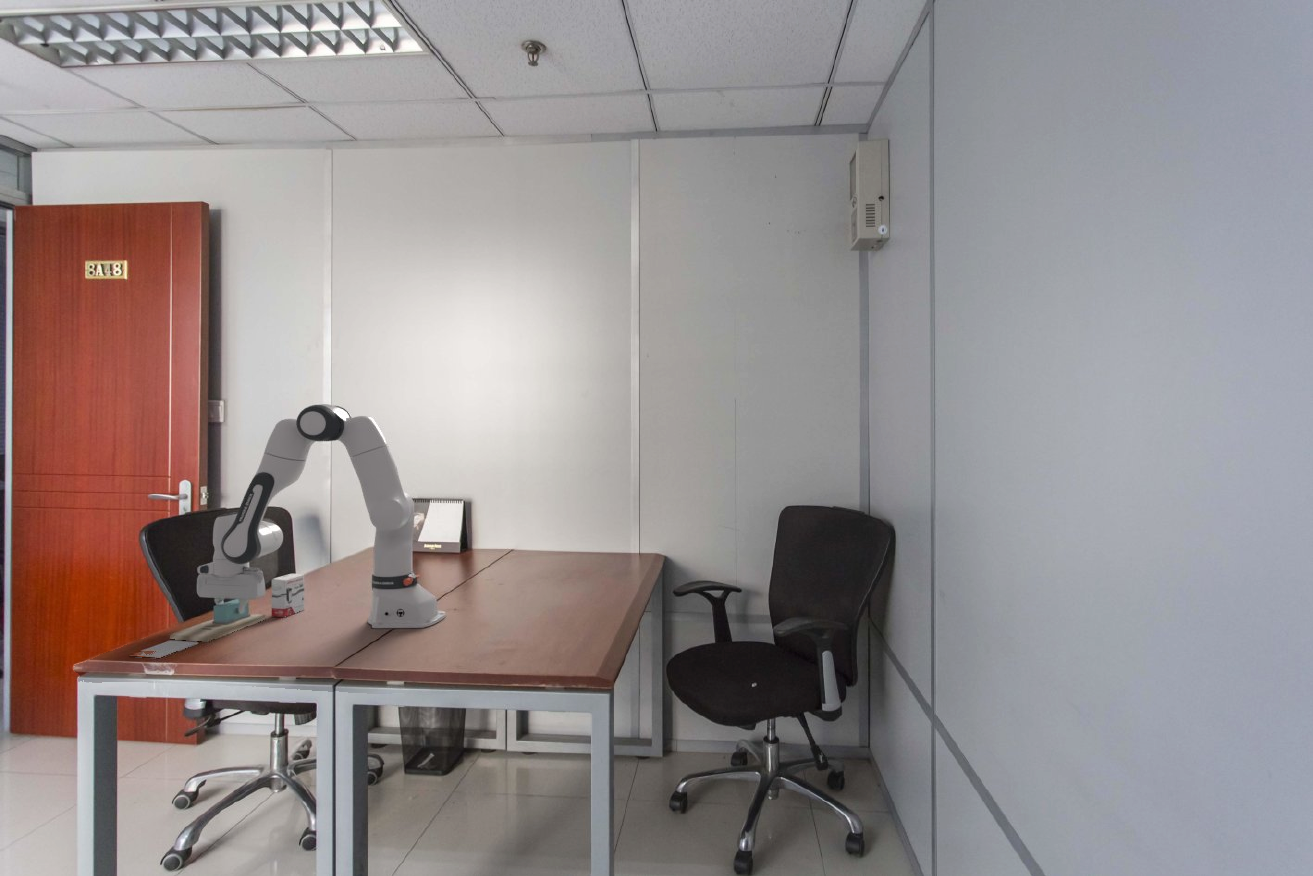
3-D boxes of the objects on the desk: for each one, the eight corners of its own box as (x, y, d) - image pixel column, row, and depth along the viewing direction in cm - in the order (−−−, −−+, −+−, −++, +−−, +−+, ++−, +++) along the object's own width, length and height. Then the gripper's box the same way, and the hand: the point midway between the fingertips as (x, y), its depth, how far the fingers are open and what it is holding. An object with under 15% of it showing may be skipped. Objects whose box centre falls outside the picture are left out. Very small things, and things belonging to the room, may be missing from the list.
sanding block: (250, 616, 184) (249, 599, 184) (226, 624, 176) (226, 607, 176) (236, 615, 185) (236, 598, 185) (212, 623, 177) (212, 606, 177)
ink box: (284, 618, 188) (284, 580, 188) (270, 617, 189) (270, 579, 189) (305, 610, 196) (305, 573, 196) (292, 609, 197) (292, 573, 197)
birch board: (265, 619, 186) (265, 614, 186) (207, 642, 166) (207, 636, 166) (230, 617, 188) (230, 612, 188) (169, 639, 168) (169, 634, 168)
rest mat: (198, 643, 165) (198, 642, 165) (159, 658, 154) (159, 657, 154) (169, 641, 166) (169, 640, 166) (128, 656, 156) (128, 655, 156)
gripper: (270, 565, 182) (270, 611, 183) (211, 562, 185) (211, 608, 186) (253, 570, 176) (254, 617, 176) (192, 567, 179) (192, 614, 179)
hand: (231, 612), depth 181 cm, fingers closed on sanding block, 4 cm apart
